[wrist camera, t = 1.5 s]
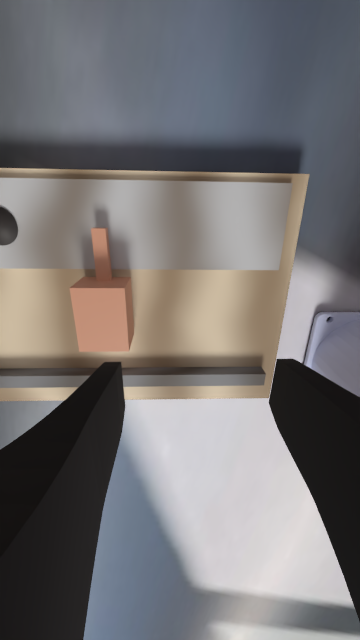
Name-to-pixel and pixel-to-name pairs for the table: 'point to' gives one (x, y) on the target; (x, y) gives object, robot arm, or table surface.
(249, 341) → the plate
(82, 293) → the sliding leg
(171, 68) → the table surface
